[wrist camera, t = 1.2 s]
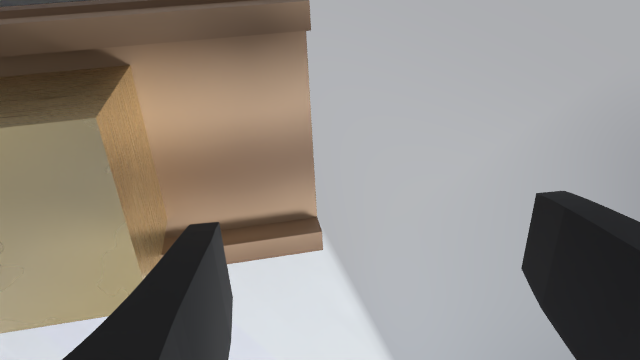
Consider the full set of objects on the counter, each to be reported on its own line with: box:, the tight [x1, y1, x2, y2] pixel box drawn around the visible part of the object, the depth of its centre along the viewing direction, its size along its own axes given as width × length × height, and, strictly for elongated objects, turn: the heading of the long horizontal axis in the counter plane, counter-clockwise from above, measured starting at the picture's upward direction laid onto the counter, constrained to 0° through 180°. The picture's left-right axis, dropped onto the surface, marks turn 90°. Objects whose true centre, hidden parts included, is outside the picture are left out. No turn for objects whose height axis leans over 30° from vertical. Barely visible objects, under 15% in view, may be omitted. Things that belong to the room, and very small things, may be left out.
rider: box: [0, 65, 167, 333], centre depth 13 cm, size 6×6×4 cm
